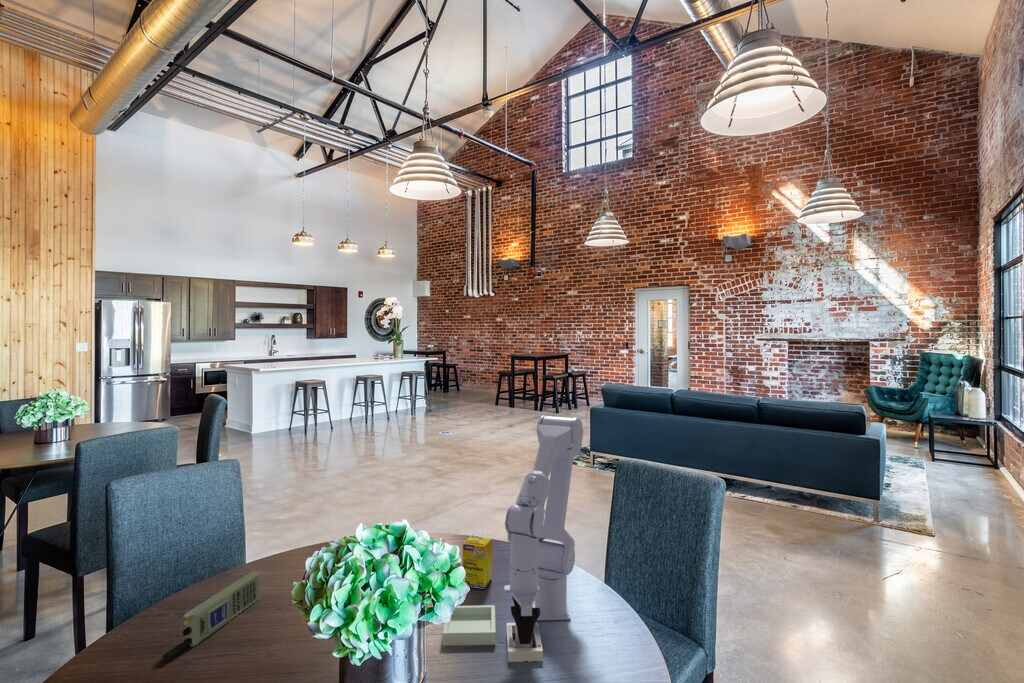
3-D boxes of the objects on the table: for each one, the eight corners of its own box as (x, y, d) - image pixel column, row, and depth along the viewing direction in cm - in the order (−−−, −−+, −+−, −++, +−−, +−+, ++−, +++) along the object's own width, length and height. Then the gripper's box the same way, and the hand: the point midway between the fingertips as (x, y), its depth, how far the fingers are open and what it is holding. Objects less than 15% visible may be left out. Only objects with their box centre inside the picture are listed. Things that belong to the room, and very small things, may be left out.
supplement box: (461, 587, 127) (462, 543, 127) (470, 576, 132) (470, 534, 132) (484, 590, 125) (484, 546, 125) (492, 580, 130) (492, 537, 131)
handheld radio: (262, 600, 120) (173, 665, 96) (249, 599, 121) (158, 664, 96) (261, 571, 120) (172, 629, 96) (249, 571, 121) (157, 628, 96)
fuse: (514, 641, 104) (514, 606, 104) (531, 640, 104) (532, 606, 104) (515, 651, 100) (515, 616, 100) (533, 651, 100) (533, 616, 100)
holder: (506, 632, 107) (506, 621, 107) (537, 631, 107) (537, 620, 107) (508, 662, 97) (508, 650, 97) (542, 661, 97) (542, 649, 97)
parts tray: (447, 617, 113) (447, 606, 113) (494, 616, 113) (494, 605, 113) (442, 645, 102) (442, 633, 102) (495, 644, 102) (495, 632, 102)
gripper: (503, 550, 109) (502, 614, 109) (505, 582, 95) (505, 655, 95) (536, 550, 109) (535, 613, 109) (543, 582, 95) (542, 654, 95)
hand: (523, 633), depth 102 cm, fingers open, 6 cm apart
